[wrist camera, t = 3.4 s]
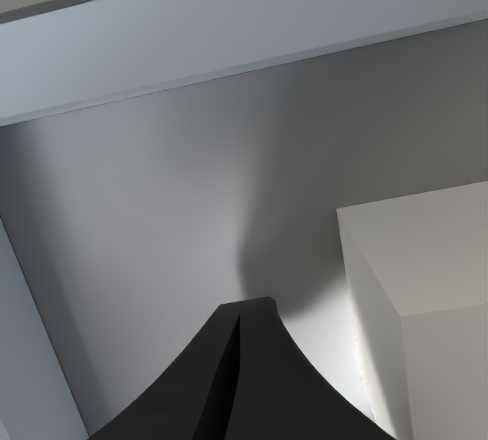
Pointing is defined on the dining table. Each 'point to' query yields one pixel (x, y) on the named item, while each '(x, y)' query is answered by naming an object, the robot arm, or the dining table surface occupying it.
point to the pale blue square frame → (145, 82)
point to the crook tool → (32, 8)
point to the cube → (422, 310)
